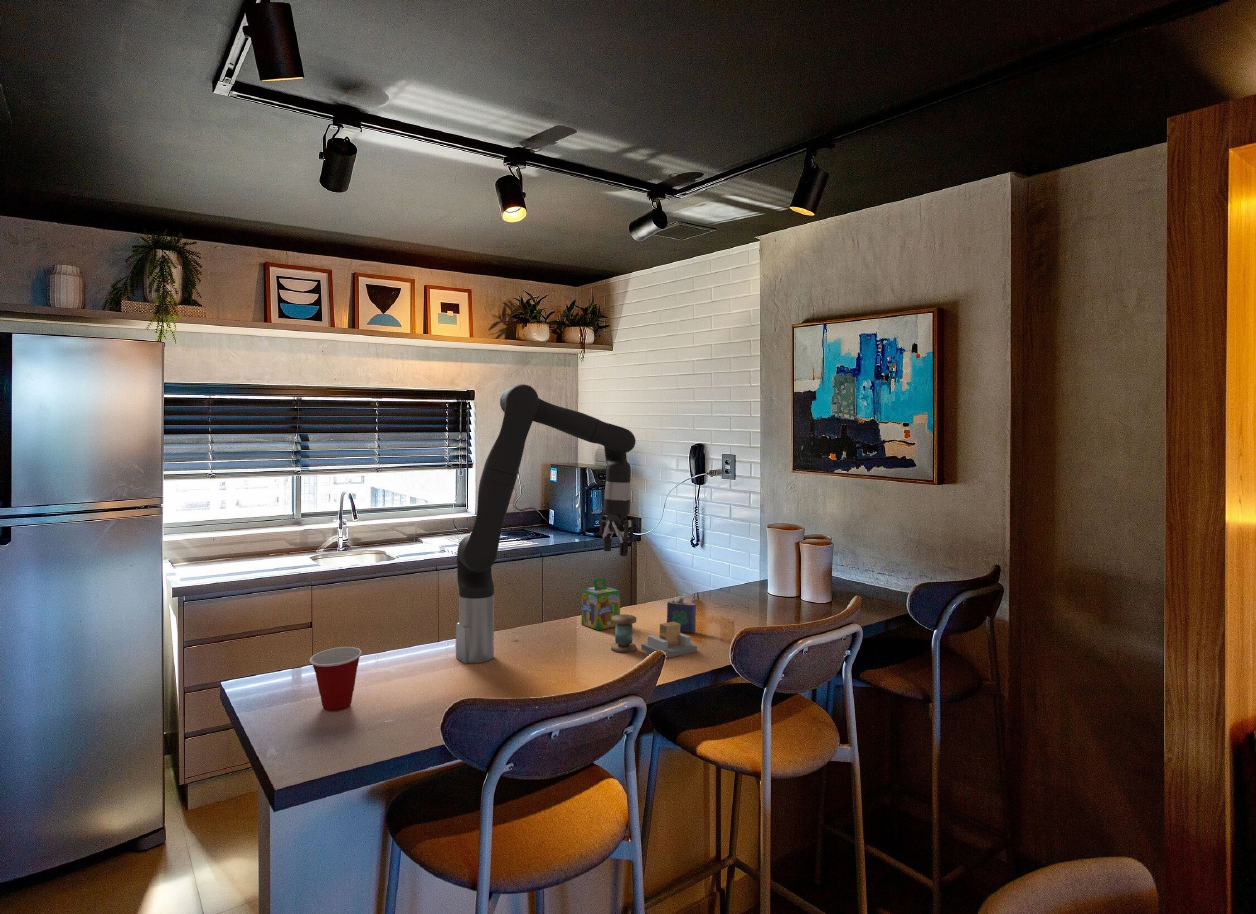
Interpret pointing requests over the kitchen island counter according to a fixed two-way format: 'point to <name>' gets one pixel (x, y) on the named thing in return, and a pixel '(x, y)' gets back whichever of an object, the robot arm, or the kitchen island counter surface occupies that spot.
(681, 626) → the flask
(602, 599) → the chalk box
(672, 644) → the brown wooden block
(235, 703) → the kitchen island counter surface
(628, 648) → the bobbin
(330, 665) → the plastic cup
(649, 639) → the grey ridged tray
